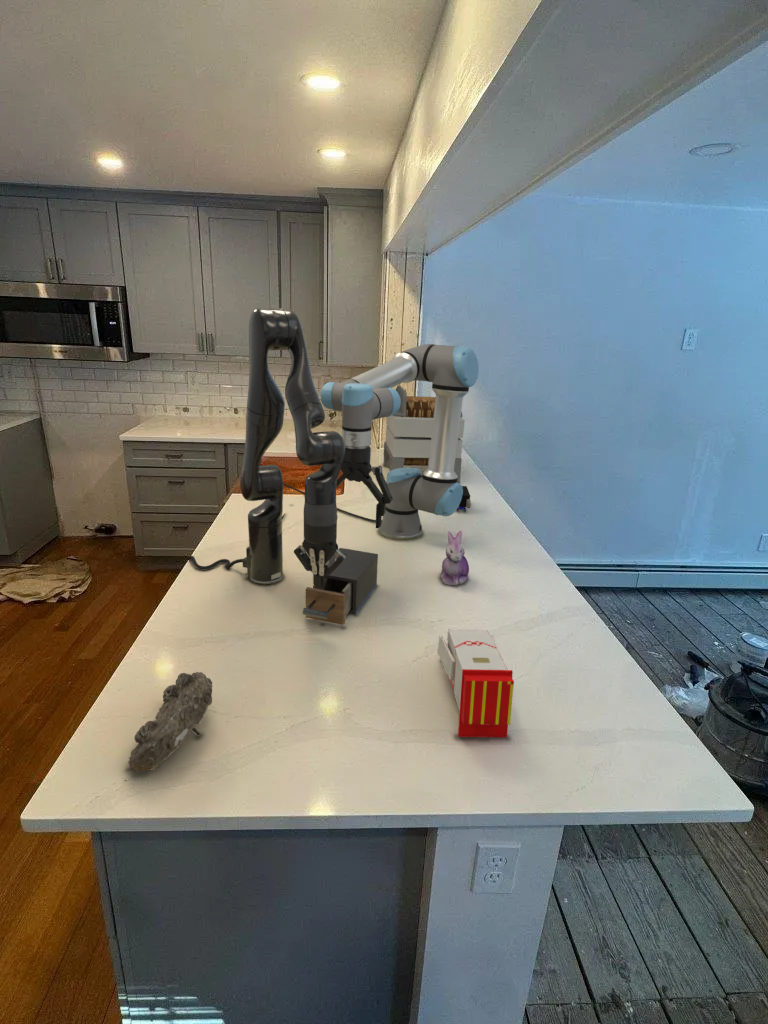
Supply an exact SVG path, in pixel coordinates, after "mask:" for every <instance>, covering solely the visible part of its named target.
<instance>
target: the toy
mask: <svg viewBox="0 0 768 1024" xmlns="http://www.w3.org/2000/svg"><path fill="white" fill-rule="evenodd" d="M446 640H447V643H446V641H445V639H444V636H443V635H442V634H439V637H438V646H437V656H438V657H439V659H440V661H441V663H442V666H443V668H444V670H445V672H446V674H447V677H448V679H449V681H450V684H451V687H452V690H453V693H454V697H455V701H456V705H457V708H458V711H459V714H458V715H459V716H458V730H457V731H458V732H457V737H458V738H508V731H509V726H510V725H511V717H512V707H513V697H514V696H513V695H514V684H515V680H514V679H513V673H514V671H513V670H512V669H508V667H507V665H506V662H505V661H504V659H503V658H502V655H501V653H500V651H499V649H498V647H497V643H496V639H495V637H494V635H493V634H491V632H490V631H489V629H467V628H466V629H465V628H463V629H461V628H460V629H459V628H448V630H447V639H446Z"/></svg>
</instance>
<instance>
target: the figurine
mask: <svg viewBox="0 0 768 1024" xmlns="http://www.w3.org/2000/svg"><path fill="white" fill-rule="evenodd" d="M462 539H463V530H458V532H457V533H456V536H454V535H453V533H452V532H451V531H447V546H446V548H445V556H446V557H444V559H443V561H442V564H441V573H440V579H441V580H442V581H443V583H444V584H445V585H449V586H457V585H461V584H464V583H465V582H466V581H467V580H468V577H469V573H470V566H469V561H468V559H467V558H466V556H465V553H466V552H465V548H464V547H463V544H462Z"/></svg>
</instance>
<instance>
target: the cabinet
mask: <svg viewBox="0 0 768 1024" xmlns="http://www.w3.org/2000/svg"><path fill="white" fill-rule="evenodd" d="M338 550H339V551H340V552H341V553H342V554H343V553H345V554H346V555H347V557H346V558H345V559H344V560H343V562H342V563H341V564H340V565H339V566H338V567H337V568H336V569H335V570H334V571H333V572H332V573H331V574H330V575H328V574H327V578H330V579H335V580H340V581H346V582H351V583H353V607H352V608H351V610H350V611H349V612H348V615H354V616H356V615H357V614H358V613H359V611H360V610H361V609H362V607H363V606H364V605H365V603H366V602H367V600H368V599H369V597H370V596H371V595H372V594H373V592H374V590H375V589H377V586H378V564H379V563H378V562H379V554H378V553H375V552H368V551H364V550H363V551H362V550H357V549H351V548H345V547H338ZM334 557H335V554H334V555H333V556H332V557H331V559H330V560H329V563H328V567H330V566H331V565H332V564H333V563H334V562H335V559H334Z"/></svg>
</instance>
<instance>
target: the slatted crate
mask: <svg viewBox="0 0 768 1024" xmlns="http://www.w3.org/2000/svg"><path fill="white" fill-rule="evenodd" d="M395 390H396V391H397V392H398V394H399V396H400V399H401V405H400V408H399V410H398V412H397V413H395V414H393V415H390V416H389V417H385V423H386V428H385V438H384V442H383V466H384V467H388V468H389V471H391V470H394V469H398V468H405V466H406V467H407V466H411V467H412V466H413V467H415V466H416V467H417V466H418V467H428V463H429V454H430V444H431V435H432V426H433V417H434V408H435V399H436V396H415V395H414V396H413V395H412V396H411V395H407V394H408V393H407V390H406V389H404V388H403V387H402V385H400V384H398V385H396V388H395ZM464 429H465V419H464V418H463V411H461V417H460V425H459V434H458V442H457V450H456V458H455V466H454V472H455V473H456V474H457V476H458V480H457V483H459V484H460V483H461V472H462V461H463V460H462V453H463V442H464V441H463V440H462V439H463V438H464V431H465V430H464Z"/></svg>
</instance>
